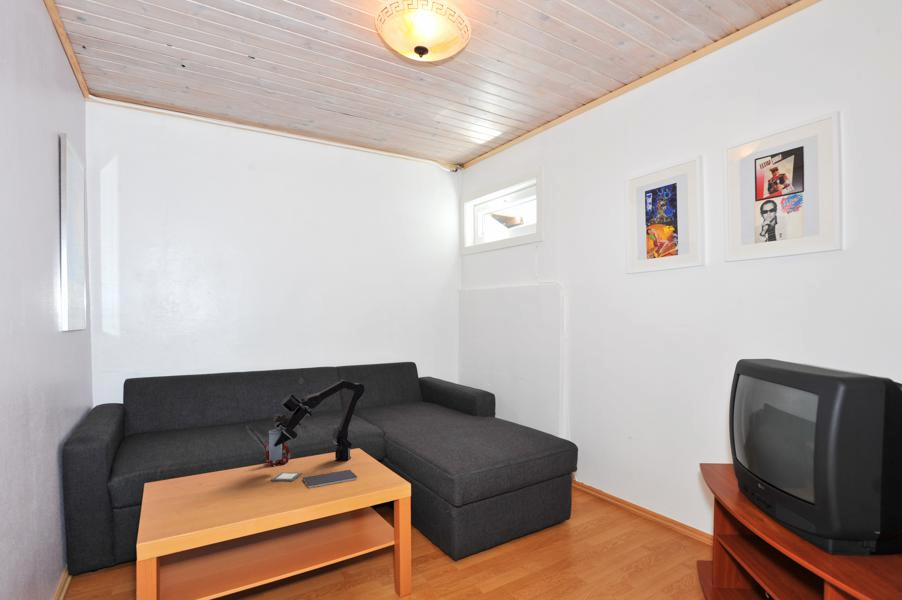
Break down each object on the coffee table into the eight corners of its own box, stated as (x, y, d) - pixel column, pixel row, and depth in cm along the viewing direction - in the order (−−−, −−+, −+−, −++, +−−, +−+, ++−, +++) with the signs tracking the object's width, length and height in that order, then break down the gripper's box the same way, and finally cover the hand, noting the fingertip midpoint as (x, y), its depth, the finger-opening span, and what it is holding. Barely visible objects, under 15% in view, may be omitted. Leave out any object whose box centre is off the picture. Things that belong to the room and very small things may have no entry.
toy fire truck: (292, 462, 231) (292, 441, 232) (266, 467, 224) (266, 445, 225) (288, 459, 237) (288, 439, 238) (263, 464, 230) (263, 443, 231)
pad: (302, 474, 213) (302, 472, 213) (292, 481, 203) (292, 479, 203) (281, 473, 214) (281, 472, 214) (270, 481, 204) (270, 479, 204)
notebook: (349, 472, 215) (302, 480, 205) (349, 469, 215) (302, 477, 205) (358, 480, 204) (308, 489, 194) (357, 476, 204) (308, 485, 194)
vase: (284, 457, 219) (284, 429, 220) (278, 460, 213) (278, 432, 214) (272, 456, 220) (272, 429, 220) (266, 460, 214) (266, 432, 214)
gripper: (278, 405, 228) (255, 431, 221) (289, 410, 212) (264, 438, 205) (295, 419, 232) (272, 445, 225) (307, 425, 216) (283, 453, 210)
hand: (272, 445), depth 216 cm, fingers closed on vase, 6 cm apart
